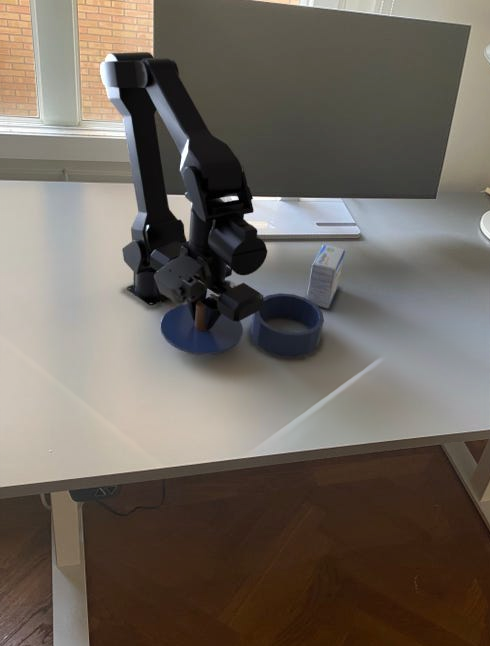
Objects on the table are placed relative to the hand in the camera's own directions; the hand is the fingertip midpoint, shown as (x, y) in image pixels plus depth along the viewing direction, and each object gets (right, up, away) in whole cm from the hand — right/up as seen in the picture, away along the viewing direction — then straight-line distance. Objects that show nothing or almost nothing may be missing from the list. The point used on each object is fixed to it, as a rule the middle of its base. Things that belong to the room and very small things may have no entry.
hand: (202, 324), depth 113 cm
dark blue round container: (+12, -2, +9) cm, 15 cm away
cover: (0, -1, +1) cm, 1 cm away
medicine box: (+18, +6, +21) cm, 29 cm away
